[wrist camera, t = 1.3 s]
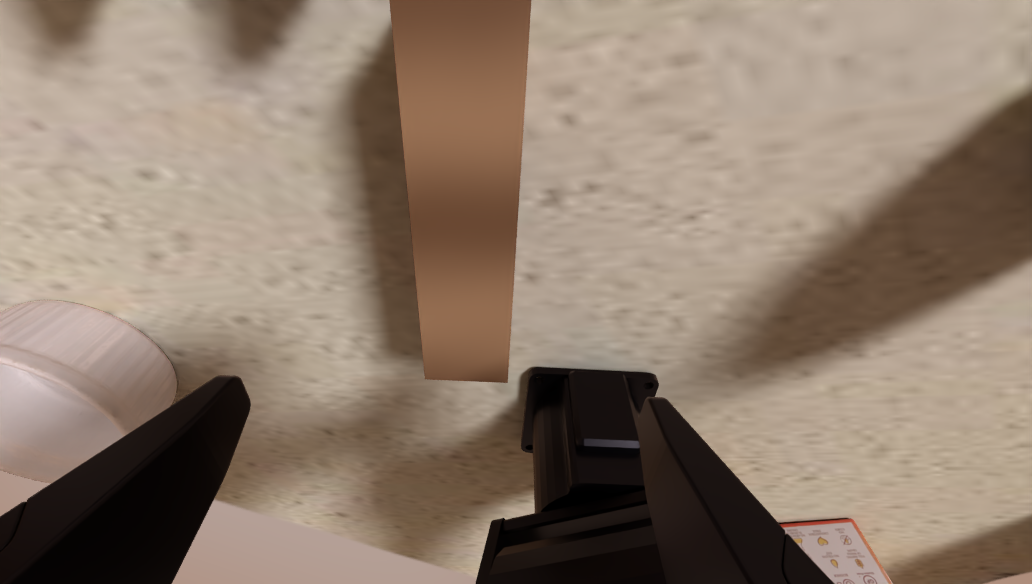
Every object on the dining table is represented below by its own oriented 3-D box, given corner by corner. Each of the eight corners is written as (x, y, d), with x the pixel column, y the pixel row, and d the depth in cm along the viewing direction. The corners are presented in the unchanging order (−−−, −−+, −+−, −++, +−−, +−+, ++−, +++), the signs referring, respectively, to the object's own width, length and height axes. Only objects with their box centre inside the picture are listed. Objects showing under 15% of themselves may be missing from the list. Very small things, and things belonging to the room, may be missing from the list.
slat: (509, 299, 21) (507, 382, 16) (443, 296, 20) (425, 379, 16) (528, -21, 13) (532, -14, 9) (427, -28, 13) (387, -23, 9)
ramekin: (-6, 375, 24) (-98, 447, 20) (-13, 253, 19) (-132, 318, 16) (177, 433, 26) (124, 506, 23) (207, 339, 22) (148, 410, 18)
